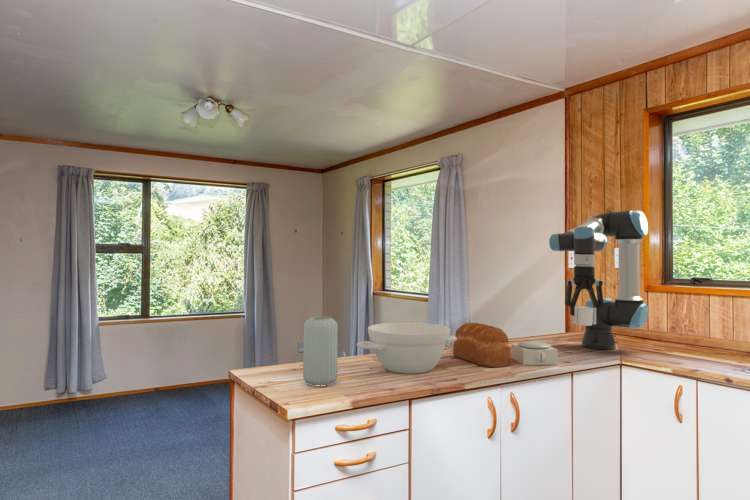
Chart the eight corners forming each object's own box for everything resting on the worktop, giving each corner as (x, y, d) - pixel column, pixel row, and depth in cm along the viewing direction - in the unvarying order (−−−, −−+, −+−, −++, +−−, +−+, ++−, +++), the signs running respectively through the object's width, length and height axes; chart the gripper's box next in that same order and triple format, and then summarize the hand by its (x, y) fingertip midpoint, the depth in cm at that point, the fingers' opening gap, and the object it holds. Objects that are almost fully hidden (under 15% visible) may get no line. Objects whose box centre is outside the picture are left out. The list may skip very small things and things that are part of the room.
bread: (475, 353, 221) (475, 319, 221) (515, 365, 196) (515, 327, 197) (449, 356, 215) (449, 320, 215) (487, 369, 191) (487, 329, 191)
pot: (379, 385, 166) (379, 338, 166) (339, 366, 194) (340, 326, 194) (479, 371, 187) (479, 329, 187) (430, 355, 215) (431, 319, 215)
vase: (296, 386, 164) (297, 319, 164) (313, 378, 175) (313, 315, 175) (328, 389, 160) (328, 321, 160) (342, 381, 170) (343, 316, 171)
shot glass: (574, 325, 194) (574, 307, 194) (575, 323, 200) (575, 305, 200) (593, 326, 191) (593, 308, 191) (594, 324, 197) (594, 306, 197)
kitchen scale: (511, 357, 212) (511, 341, 212) (543, 357, 213) (543, 341, 213) (524, 365, 197) (524, 347, 197) (558, 364, 198) (558, 347, 198)
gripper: (562, 265, 192) (562, 325, 192) (613, 266, 191) (613, 325, 191) (555, 265, 199) (555, 322, 199) (605, 265, 199) (605, 322, 199)
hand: (584, 323), depth 195 cm, fingers closed on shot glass, 7 cm apart
